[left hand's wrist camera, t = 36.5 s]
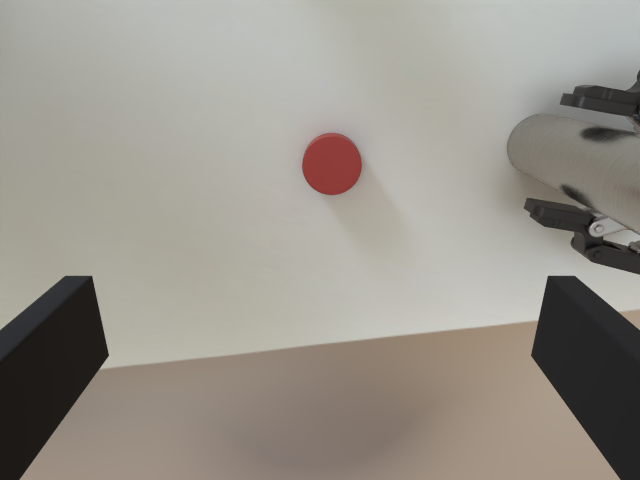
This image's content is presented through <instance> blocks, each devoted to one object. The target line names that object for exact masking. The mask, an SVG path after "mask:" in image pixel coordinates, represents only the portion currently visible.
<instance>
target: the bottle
mask: <svg viewBox="0 0 640 480" xmlns="http://www.w3.org/2000/svg"><path fill="white" fill-rule="evenodd" d="M508 156H509V159H510V161H511V163H512V164H513V165H514V167H515V168H517V169H518V170H520V171H522V172H523V173H525V174H527V175H529V176H531V177H533V178H535V179H536V180H538V181H540V182H542V183H544V184H546V185H548V186H550V187H551V188H553V189H555V190H557V191H559V192H561V193H563V194H564V195H566V196H568V197H570V198H572V199H574V200H576V201H578V202H579V203H581V204H583V205H585V206H587V207H589V208H591V209H592V210H594V211H596V212H598V213H600V214H602V215H604V216H606V217H607V218H609V219H611V220H613V221H615V222H617V223H619V224H620V225H622V226H624V227H626V228H628V229H630V230H632V231H634V232H635V233H637V234H639V235H640V134H639V133H634V132H629V131H625V130H620V129H615V128H610V127H606V126H601V125H596V124H591V123H586V122H582V121H577V120H572V119H567V118H563V117H558V116H553V115H548V114H538V115H533V116H531V117H528V118H526V119H525V120H523V121H522V122H521V123H519V124H518V125H517V127H516V128H515V129H514V130H513V132H512V134H511V136H510V138H509V141H508Z"/></svg>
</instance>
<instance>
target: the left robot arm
mask: <svg viewBox="0 0 640 480" xmlns="http://www.w3.org/2000/svg"><path fill="white" fill-rule="evenodd" d="M108 356H109V354H108V349H107V344H106V340H105V335H104V330H103V326H102V321H101V316H100V311H99V307H98V302H97V297H96V293H95V288H94V283H93V278H92V276H65V277H63V278H62V279H61V280H60V281H59V282H57V283H56V284H55V285H54V286H53V287H51V288H50V289H49V290H48V291H47V292H46V293H44V294H43V295H42V296H41V297H40V298H38V299H37V300H36V301H35V302H34V303H32V304H31V305H30V306H29V307H28V308H26V309H25V310H24V311H23V312H22V313H20V314H19V315H18V316H17V317H16V318H14V319H13V320H12V321H11V322H10V323H8V324H7V325H6V326H5V327H4V328H2V329H1V330H0V480H19V479H20V478H21V477H22V475H23V474H24V473H25V471H26V470H27V468H28V467H29V466H30V464H31V463H32V461H33V460H34V459H35V457H36V456H37V455H38V453H39V452H40V450H41V449H42V448H43V446H44V445H45V443H46V442H47V441H48V439H49V438H50V436H51V435H52V434H53V432H54V431H55V430H56V428H57V427H58V425H59V424H60V423H61V421H62V420H63V419H64V417H65V416H66V414H67V413H68V412H69V410H70V409H71V407H72V406H73V405H74V403H75V402H76V400H77V399H78V398H79V396H80V395H81V394H82V392H83V391H84V389H85V388H86V387H87V385H88V384H89V382H90V381H91V380H92V378H93V377H94V376H95V374H96V373H97V371H98V370H99V369H100V367H101V366H102V364H103V363H104V362H105V360H106V359H107V358H108ZM531 356H532V357H533V359H534V360H535V362H536V363H537V364H538V366H539V367H540V369H541V370H542V371H543V373H544V374H545V376H546V377H547V378H548V380H549V381H550V382H551V384H552V385H553V387H554V388H555V389H556V391H557V392H558V394H559V395H560V396H561V398H562V399H563V400H564V402H565V403H566V405H567V406H568V407H569V409H570V410H571V411H572V413H573V414H574V416H575V417H576V419H577V420H578V421H579V423H580V424H581V425H582V427H583V428H584V430H585V431H586V432H587V434H588V435H589V437H590V438H591V439H592V441H593V442H594V443H595V445H596V446H597V448H598V449H599V450H600V452H601V453H602V454H603V456H604V457H605V459H606V460H607V461H608V463H609V464H610V466H611V467H612V468H613V470H614V471H615V473H616V474H617V475H618V477H619V478H620V479H621V480H640V330H639V329H638V328H636V327H635V326H634V325H633V324H632V323H630V322H629V321H628V320H627V319H626V318H624V317H623V316H622V315H621V314H620V313H618V312H617V311H616V310H615V309H614V308H612V307H611V306H610V305H609V304H608V303H606V302H605V301H604V300H603V299H602V298H600V297H599V296H598V295H597V294H596V293H594V292H593V291H592V290H591V289H590V288H589V287H587V286H586V285H585V284H584V283H583V282H581V281H580V280H579V279H578V278H577V277H575V276H548V278H547V283H546V288H545V293H544V297H543V302H542V307H541V311H540V316H539V321H538V326H537V330H536V335H535V340H534V344H533V349H532V354H531Z"/></svg>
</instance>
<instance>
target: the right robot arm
mask: <svg viewBox="0 0 640 480" xmlns="http://www.w3.org/2000/svg"><path fill="white" fill-rule="evenodd" d="M560 105H566V106H571V107H577V108H582V109H588V110H593V111H599V112H604V113H610V114H616V115H622V116H625V117H626V118H627V119H628V120H629V121H630V122H631V123H632V124H633V125H634V127H633V128H634V130H635V131H636V132H637V133H639V134H640V71H639V72H638V75H637V82H636V83H635V84H634V85H633V87H631V88H630V89H629V90H626V91H623V90H617V89H611V88H606V87H601V86H593V85H582V86H577V87H575V89H574V92H573V94H565V93H563V96H562V99H561V101H560ZM524 209H526V210H527V211H529V212H530V213H531V214H530V217H531V218H533V219H534V220H535V221H537V222H538V223H540V224H541V225H543V226H544V227H550V228H556V229H562V230H568V231H574V237H573V238H572V240H571V246H572V248H574V249H575V250H576V251H578V252H579V253H580V254H582V255H583V256H585V257H586V258H587V259H589V260H590V261H591V262H594V263H597V264H601V265H605V266H609V267H613V268H617V269H620V270H624V271H628V272H632V273H636V274H640V241H636V242H630V243H629V245H628V246H629V247H628V246H625V245H621V244H617V243H613V242H610V241H606V240H603V236H604V235H608V234H611V233H614V232H618V231H621V230H630V229H628V228H626V227H624V226H622V225H620V224H619V223H617V222H615V221H613V220H611V219H609V218H607V217H606V216H604V215H602V214H600V213H598V212H596V211H594V210H592V209H591V208H589V207H587V208H583V209H580V208H578V207H576V206H572V205H567V204H561V203H555V202H549V201H543V200H538V199H532V198H527V200H526V203H525V206H524Z"/></svg>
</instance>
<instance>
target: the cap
mask: <svg viewBox="0 0 640 480" xmlns="http://www.w3.org/2000/svg"><path fill="white" fill-rule="evenodd" d="M302 168H303V173H304V176H305V179H306V180H307V182H308V183H309V185H310V186H311V187H312V188H314V189H315V190H317V191H318V192H320V193H323V194H328V195H336V194H340V193H343V192H345V191H347V190H349V189H350V188H351V187H352V186H353V185H354V184H355V183H356V181H357V180H358V178H359V175H360V172H361V158H360V155H359V152H358V150H357V148H356V146H355V145H354V143H353V142H352V141H351V140H350V139H348V138H347V137H345V136H343V135H340V134H336V133H327V134H323V135H321V136H319V137H317V138H315V139H314V140H313V141H312V142H311V143H310V144H309V146H308V147H307V149H306V151H305V155H304V158H303V164H302Z"/></svg>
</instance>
